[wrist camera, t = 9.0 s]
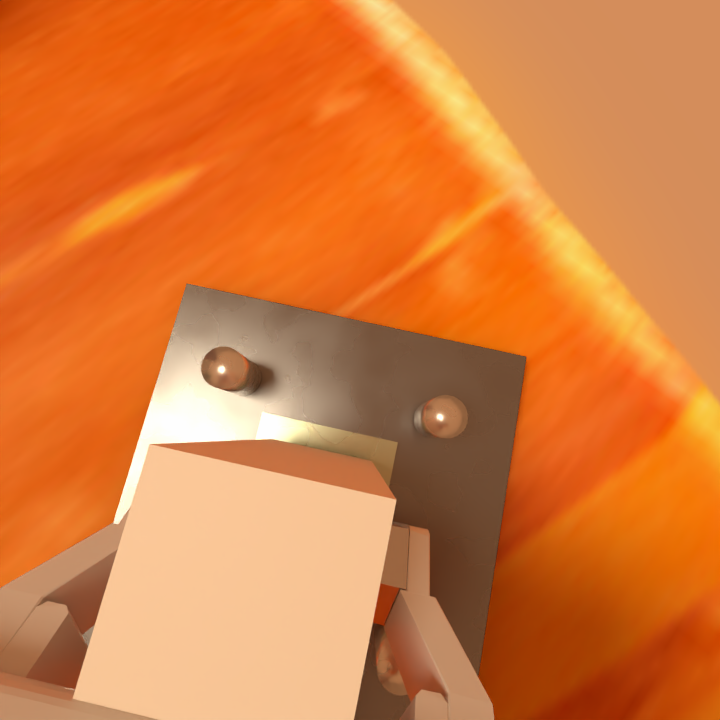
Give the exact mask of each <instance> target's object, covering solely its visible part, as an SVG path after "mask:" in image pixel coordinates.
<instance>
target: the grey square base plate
mask: <svg viewBox="0 0 720 720" xmlns="http://www.w3.org/2000/svg"><path fill="white" fill-rule="evenodd" d="M525 363H526V357H525V356H520V355H515V354H511V353H506V352H502V351H497V350H492V349H488V348H483V347H478V346H474V345H469V344H464V343H460V342H455V341H451V340H446V339H441V338H437V337H432V336H427V335H423V334H418V333H413V332H409V331H404V330H400V329H395V328H390V327H386V326H381V325H376V324H372V323H367V322H362V321H358V320H353V319H348V318H344V317H339V316H335V315H330V314H325V313H321V312H316V311H311V310H307V309H302V308H297V307H293V306H288V305H284V304H279V303H274V302H270V301H265V300H260V299H256V298H251V297H246V296H242V295H237V294H233V293H228V292H223V291H219V290H214V289H209V288H205V287H200V286H195V285H191V284H187V285H186V288H185V291H184V295H183V298H182V301H181V304H180V308H179V311H178V314H177V317H176V321H175V324H174V327H173V330H172V334H171V337H170V340H169V343H168V347H167V350H166V353H165V356H164V360H163V363H162V366H161V369H160V373H159V376H158V379H157V382H156V386H155V389H154V392H153V395H152V399H151V402H150V405H149V408H148V412H147V415H146V418H145V421H144V425H143V428H142V431H141V434H140V438H139V441H138V444H137V447H136V451H135V454H134V457H133V460H132V464H131V467H130V470H129V473H128V477H127V480H126V483H125V486H124V490H123V493H122V496H121V499H120V503H119V506H118V509H117V512H116V516H115V519H114V522H113V523H115V524H119V522H120V521H121V519H122V518H123V517H124V515H125V514H126V512H127V511H128V510H129V508H130V507H131V504H132V500H133V497H134V494H135V490H136V487H137V484H138V480H139V477H140V474H141V471H142V467H143V464H144V461H145V457H146V454H147V451H148V447H149V444H163V443H187V442H210V441H233V440H257V439H275V440H280V441H284V442H289V443H293V444H298V445H302V446H307V447H311V448H316V449H320V450H325V451H329V452H334V453H338V454H343V455H347V456H351V457H356V458H360V459H365V460H369V461H372V462H373V464H374V465H375V467H376V469H377V470H378V472H379V473H380V475H381V476H382V478H383V479H384V481H385V483H386V484H387V486H388V487H389V489H390V490H391V492H392V493H393V495H394V497H395V498H396V505H395V510H394V515H393V521H394V522H399V523H404V524H408V525H410V526H415V527H420V528H424V529H428V531H429V534H430V596H432V597H435V598H436V599H437V601H438V603H439V605H440V607H441V609H442V610H443V612H444V614H445V616H446V618H447V620H448V622H449V623H450V625H451V627H452V629H453V631H454V633H455V635H456V637H457V638H458V640H459V642H460V644H461V646H462V648H463V650H464V652H465V653H466V655H467V657H468V659H469V661H470V663H471V665H472V667H473V668H474V670H475V672H476V674H477V676H478V675H479V668H480V662H481V655H482V648H483V642H484V635H485V628H486V622H487V615H488V609H489V602H490V595H491V589H492V582H493V575H494V569H495V562H496V555H497V549H498V542H499V536H500V529H501V522H502V516H503V509H504V502H505V496H506V489H507V482H508V476H509V469H510V463H511V456H512V449H513V443H514V436H515V429H516V423H517V416H518V409H519V403H520V396H521V390H522V383H523V376H524V370H525ZM94 626H95V625H94ZM94 626H93V627H91V628H90V629H89V630H88V631H86V632H85V633H84V634H83V635H82V636H83V638H84V640H85V642H86V644H87V646H89V643H90V639H91V636H92V633H93V629H94ZM410 703H411V702H410V699H409V696H408V694H407V691H406V688H405V685H404V682H403V680H402V677H401V674H400V671H399V669H398V666H397V663H396V660H395V657H394V655H393V652H392V649H391V646H390V644H389V641H388V638H387V635H386V632H385V630H384V625H380V624H376V623H373V624H372V629H371V634H370V639H369V644H368V650H367V655H366V660H365V665H364V670H363V675H362V680H361V686H360V691H359V696H358V701H357V706H356V711H355V717H354V720H399V719H400V718H401V716H402V715H403V713H404V712H405V710H406V709H407V707H408V706H409V705H410Z"/></svg>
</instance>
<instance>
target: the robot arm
mask: <svg viewBox="0 0 720 720" xmlns="http://www.w3.org/2000/svg"><path fill="white" fill-rule="evenodd" d="M129 510H130V508H129ZM129 510H128V511H127V512H126V514H125V515H124V517H123V518H122V519H121V521H120V522H119V524H115V523H112V524H110V525H108V526H106V527H105V528H103V529H101V530H99V531H98V532H96V533H94V534H93V535H91V536H89V537H87V538H86V539H84V540H82V541H80V542H79V543H77V544H75V545H74V546H72V547H70V548H68V549H67V550H65V551H63V552H61V553H60V554H58V555H56V556H55V557H53V558H51V559H49V560H48V561H46V562H44V563H43V564H41V565H39V566H37V567H36V568H34V569H32V570H30V571H29V572H27V573H25V574H24V575H22V576H20V577H18V578H17V579H15V580H13V581H11V582H10V583H8V584H6V585H5V586H3V587H1V588H0V720H158V719H153V718H149V717H145V716H141V715H137V714H133V713H129V712H125V711H120V710H116V709H112V708H108V707H104V706H100V705H96V704H92V703H88V702H84V701H80V700H75V699H73V695H74V692H75V689H76V686H77V682H78V679H79V676H80V672H81V669H82V666H83V662H84V659H85V656H86V652H87V649H88V646H87V644H86V642H85V640H84V638H83V636H82V635H83V634H84V633H85V632H86V631H88V630H89V629H90V628H91V627H93V626H94V625H95V623H96V619H97V616H98V613H99V609H100V606H101V603H102V600H103V596H104V593H105V590H106V586H107V583H108V580H109V576H110V573H111V570H112V566H113V563H114V560H115V557H116V553H117V550H118V547H119V543H120V540H121V537H122V533H123V530H124V527H125V523H126V520H127V517H128V514H129ZM373 623H376V624H380V625H384V630H385V632H386V635H387V638H388V641H389V644H390V646H391V649H392V652H393V655H394V657H395V660H396V663H397V666H398V669H399V671H400V674H401V677H402V680H403V682H404V685H405V688H406V691H407V694H408V696H409V699H410V702H411V703H410V705H409V706H408V707H407V709H406V710H405V712H404V713H403V715H402V716H401V718H400V719H399V720H494V712H493V704H492V702H491V700H490V698H489V696H488V695H487V693H486V691H485V689H484V687H483V685H482V683H481V682H480V680H479V678H478V676H477V674H476V672H475V670H474V668H473V667H472V665H471V663H470V661H469V659H468V657H467V655H466V653H465V652H464V650H463V648H462V646H461V644H460V642H459V640H458V638H457V637H456V635H455V633H454V631H453V629H452V627H451V625H450V623H449V622H448V620H447V618H446V616H445V614H444V612H443V610H442V609H441V607H440V605H439V603H438V601H437V599H436V598H435V597H432V596H430V534H429V531H428V529H424V528H420V527H415V526H410V525H408V524H404V523H399V522H394V521H392V526H391V531H390V536H389V541H388V546H387V552H386V557H385V562H384V567H383V572H382V577H381V582H380V588H379V593H378V598H377V603H376V608H375V613H374V619H373Z"/></svg>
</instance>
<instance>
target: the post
mask: <svg viewBox="0 0 720 720" xmlns="http://www.w3.org/2000/svg"><path fill="white" fill-rule="evenodd" d="M395 505H396V498H395V497H394V495H393V493H392V492H391V490H390V489H389V487H388V486H387V484H386V483H385V481H384V479H383V478H382V476H381V475H380V473H379V472H378V470H377V469H376V467H375V465H374V464H373V462H372V461H369V460H365V459H360V458H356V457H351V456H347V455H343V454H338V453H334V452H329V451H325V450H320V449H316V448H311V447H307V446H302V445H298V444H293V443H289V442H284V441H280V440H275V439H257V440H233V441H210V442H187V443H163V444H149V447H148V451H147V454H146V457H145V461H144V464H143V467H142V471H141V474H140V477H139V480H138V484H137V487H136V490H135V494H134V497H133V500H132V504H131V507H130V510H129V514H128V517H127V520H126V523H125V527H124V530H123V533H122V537H121V540H120V543H119V547H118V550H117V553H116V557H115V560H114V563H113V566H112V570H111V573H110V576H109V580H108V583H107V586H106V590H105V593H104V596H103V600H102V603H101V606H100V609H99V613H98V616H97V619H96V623H95V626H94V629H93V633H92V636H91V639H90V643H89V646H88V649H87V652H86V656H85V659H84V662H83V666H82V669H81V672H80V676H79V679H78V682H77V686H76V689H75V692H74V695H73V699H75V700H80V701H84V702H88V703H92V704H96V705H100V706H104V707H108V708H112V709H116V710H120V711H125V712H129V713H133V714H137V715H141V716H145V717H149V718H153V719H158V720H354V717H355V711H356V706H357V701H358V696H359V691H360V686H361V680H362V675H363V670H364V665H365V660H366V655H367V650H368V644H369V639H370V634H371V629H372V624H373V619H374V613H375V608H376V603H377V598H378V593H379V588H380V582H381V577H382V572H383V567H384V562H385V557H386V552H387V546H388V541H389V536H390V531H391V526H392V521H393V515H394V510H395Z"/></svg>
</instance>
